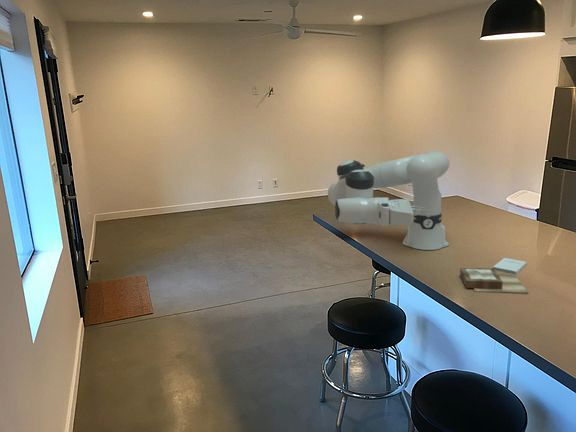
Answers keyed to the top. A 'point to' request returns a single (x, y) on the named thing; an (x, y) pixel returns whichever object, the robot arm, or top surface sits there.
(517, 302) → the top surface
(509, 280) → the beige square tray
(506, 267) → the external hard drive
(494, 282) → the walnut picture frame
